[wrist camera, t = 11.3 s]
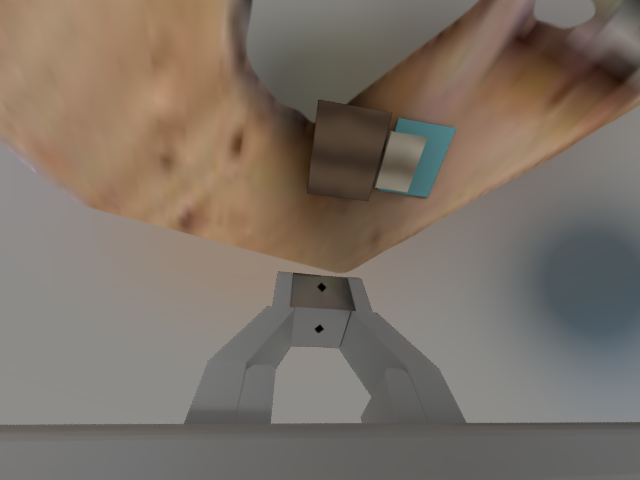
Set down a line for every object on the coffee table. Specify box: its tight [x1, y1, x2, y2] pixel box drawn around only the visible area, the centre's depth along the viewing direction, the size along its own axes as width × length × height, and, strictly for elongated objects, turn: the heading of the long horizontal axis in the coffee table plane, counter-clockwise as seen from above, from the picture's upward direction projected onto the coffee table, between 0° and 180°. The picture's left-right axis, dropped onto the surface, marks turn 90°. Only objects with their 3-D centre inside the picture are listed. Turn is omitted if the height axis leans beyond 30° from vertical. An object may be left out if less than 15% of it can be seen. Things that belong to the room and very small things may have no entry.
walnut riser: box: [307, 100, 392, 201], centre depth 38 cm, size 14×11×2 cm
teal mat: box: [377, 118, 456, 197], centre depth 40 cm, size 12×10×1 cm
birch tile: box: [373, 131, 427, 192], centre depth 39 cm, size 9×6×2 cm, turn 171°
